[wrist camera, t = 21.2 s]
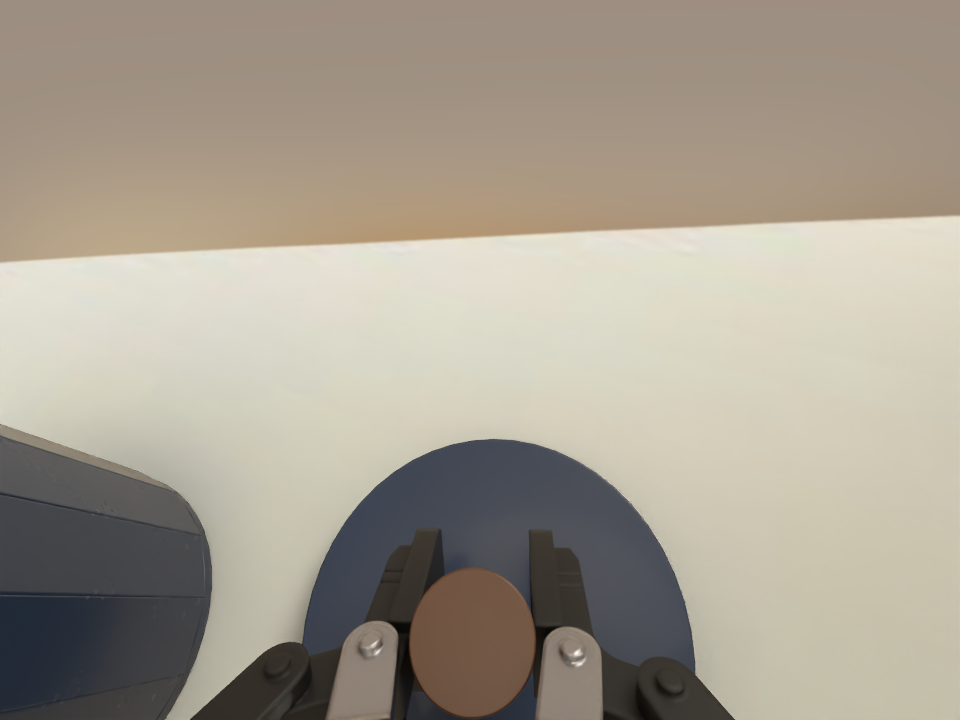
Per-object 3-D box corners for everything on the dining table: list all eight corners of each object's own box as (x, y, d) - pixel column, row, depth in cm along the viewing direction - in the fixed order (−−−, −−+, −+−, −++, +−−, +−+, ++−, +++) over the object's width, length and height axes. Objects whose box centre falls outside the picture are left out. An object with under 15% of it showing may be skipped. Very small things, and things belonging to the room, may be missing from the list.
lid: (495, 390, 21) (481, 283, 14) (763, 632, 16) (958, 655, 9) (248, 615, 18) (61, 624, 10) (489, 1038, 12) (443, 1668, 5)
